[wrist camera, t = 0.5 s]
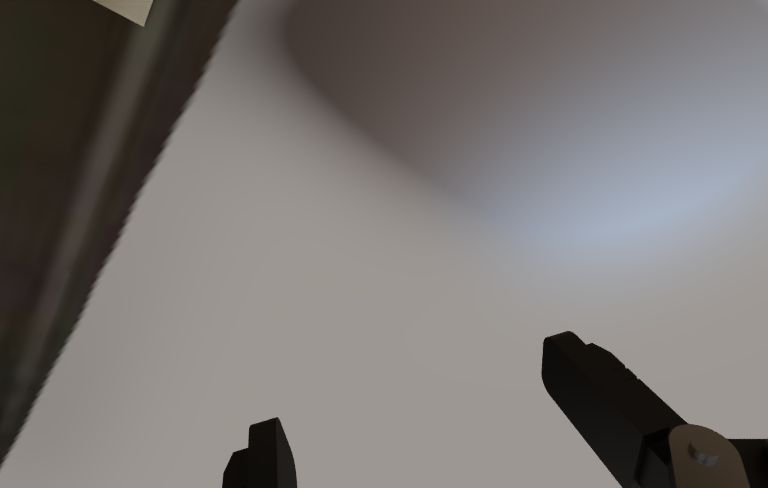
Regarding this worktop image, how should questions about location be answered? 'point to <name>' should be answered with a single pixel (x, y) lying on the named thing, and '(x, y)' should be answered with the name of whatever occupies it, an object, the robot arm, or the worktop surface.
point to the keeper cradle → (129, 9)
